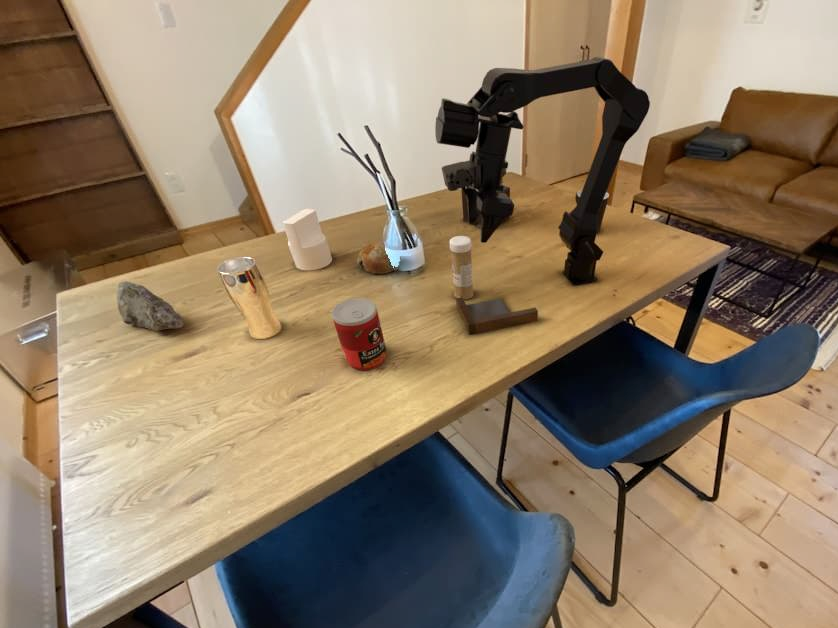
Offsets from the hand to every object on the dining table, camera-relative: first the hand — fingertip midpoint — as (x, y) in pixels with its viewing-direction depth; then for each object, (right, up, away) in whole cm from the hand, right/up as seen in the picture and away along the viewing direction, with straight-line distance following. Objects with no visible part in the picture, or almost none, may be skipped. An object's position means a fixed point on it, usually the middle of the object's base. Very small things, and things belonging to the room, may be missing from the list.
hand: (477, 232), depth 90 cm
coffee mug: (+30, +13, +37) cm, 49 cm away
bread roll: (-26, -2, +21) cm, 33 cm away
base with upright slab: (-43, 0, +23) cm, 49 cm away
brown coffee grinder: (+2, +16, +40) cm, 43 cm away
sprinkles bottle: (-4, -11, +10) cm, 16 cm away
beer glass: (-44, -20, +1) cm, 48 cm away
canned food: (-21, -26, -6) cm, 34 cm away
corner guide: (+4, -16, +4) cm, 17 cm away
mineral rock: (-68, -19, +2) cm, 70 cm away
